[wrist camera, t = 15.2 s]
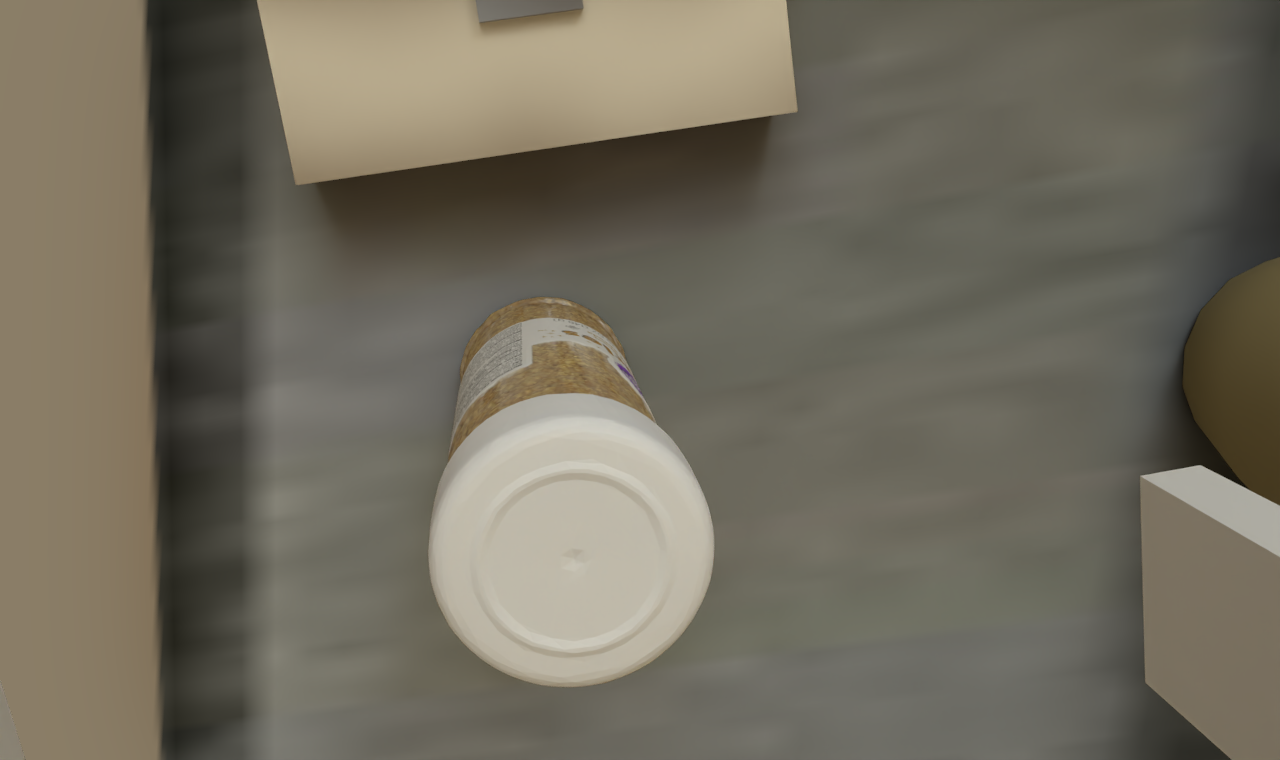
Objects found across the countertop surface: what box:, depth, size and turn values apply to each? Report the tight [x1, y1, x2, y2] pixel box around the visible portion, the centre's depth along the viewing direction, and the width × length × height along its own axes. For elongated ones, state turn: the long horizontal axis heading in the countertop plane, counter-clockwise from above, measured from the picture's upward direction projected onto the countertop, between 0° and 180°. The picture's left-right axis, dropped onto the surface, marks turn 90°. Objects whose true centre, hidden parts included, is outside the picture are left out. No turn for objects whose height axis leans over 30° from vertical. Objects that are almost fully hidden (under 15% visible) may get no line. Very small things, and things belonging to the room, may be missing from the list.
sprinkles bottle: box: [428, 297, 714, 687], centre depth 24 cm, size 5×5×13 cm
